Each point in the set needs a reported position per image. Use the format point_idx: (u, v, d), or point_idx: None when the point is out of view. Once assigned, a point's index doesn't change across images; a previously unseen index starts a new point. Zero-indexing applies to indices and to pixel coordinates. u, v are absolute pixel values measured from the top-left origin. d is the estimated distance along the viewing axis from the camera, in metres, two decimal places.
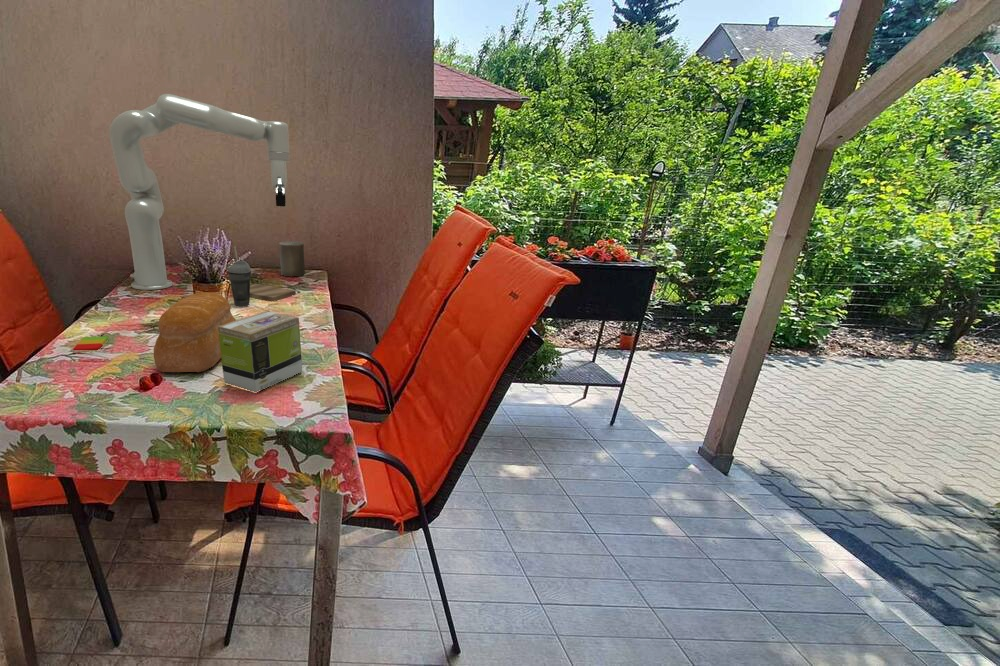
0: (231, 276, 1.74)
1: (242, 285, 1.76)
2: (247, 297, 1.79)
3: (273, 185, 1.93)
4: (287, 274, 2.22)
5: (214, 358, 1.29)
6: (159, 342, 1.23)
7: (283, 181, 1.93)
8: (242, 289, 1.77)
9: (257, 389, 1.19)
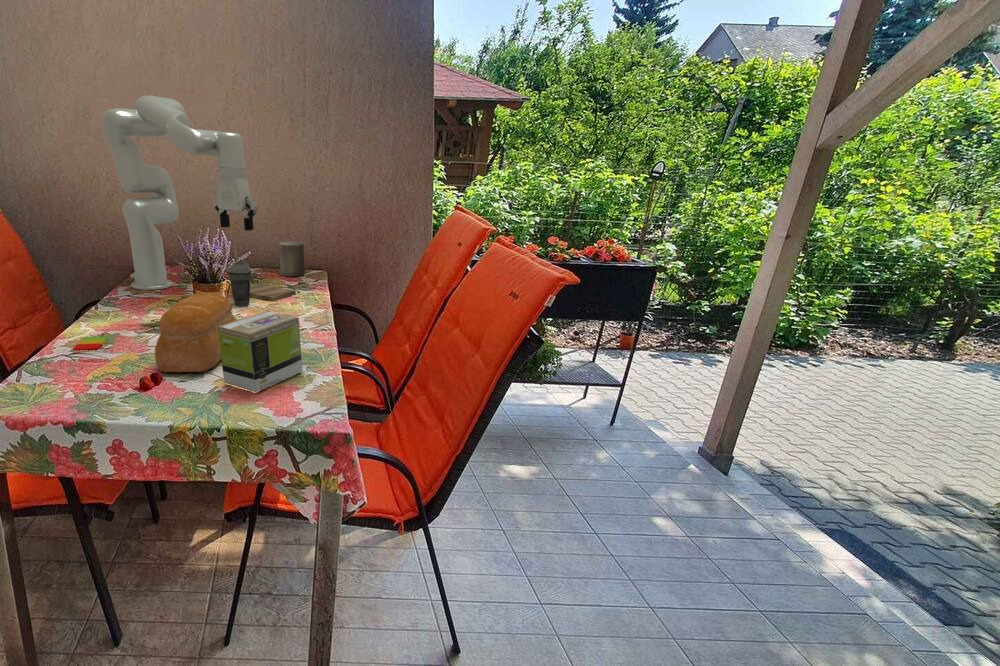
0: (231, 276, 1.74)
1: (242, 285, 1.76)
2: (247, 297, 1.79)
3: (242, 207, 1.67)
4: (287, 274, 2.22)
5: (215, 358, 1.29)
6: (160, 342, 1.24)
7: None
8: (242, 289, 1.77)
9: (257, 389, 1.19)
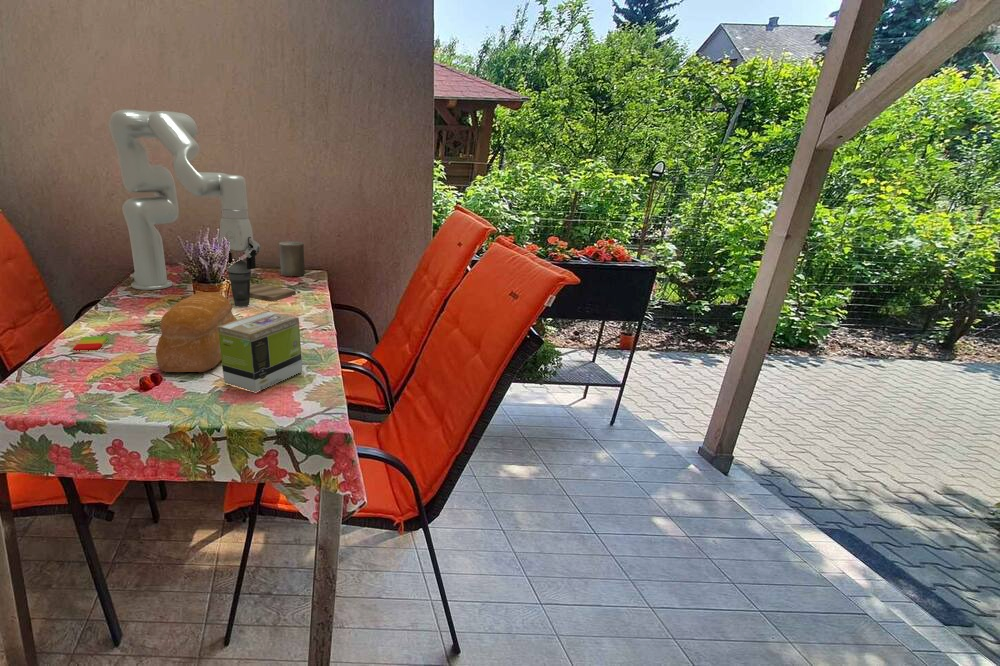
0: (231, 276, 1.74)
1: (242, 285, 1.76)
2: (247, 297, 1.79)
3: (244, 247, 1.71)
4: (287, 274, 2.22)
5: (216, 358, 1.29)
6: (162, 342, 1.24)
7: None
8: (242, 289, 1.77)
9: (257, 389, 1.19)
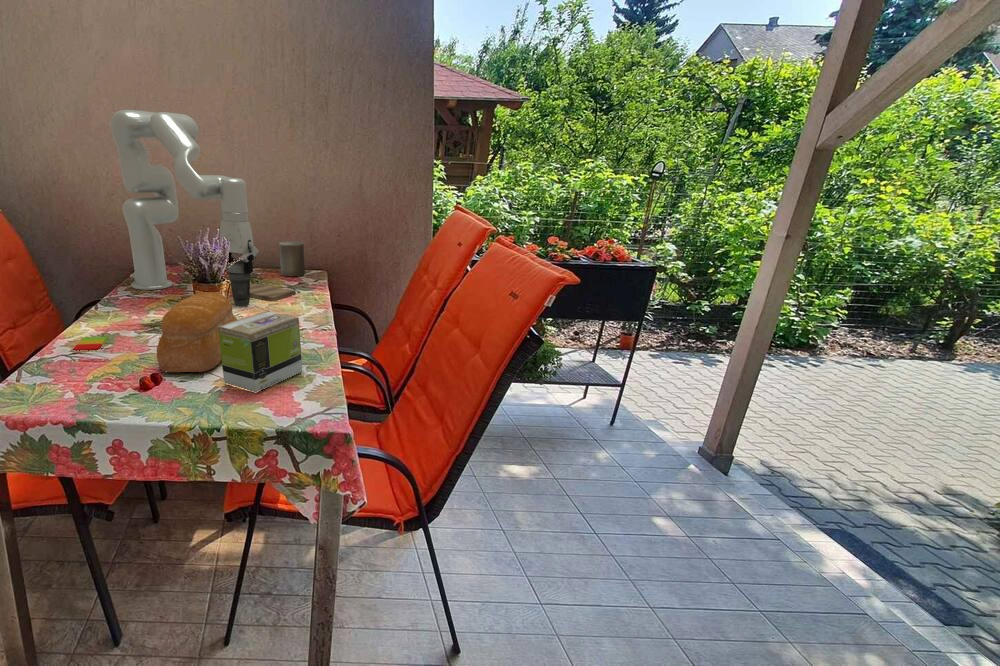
0: (231, 276, 1.74)
1: (242, 285, 1.76)
2: (247, 297, 1.79)
3: (244, 250, 1.71)
4: (287, 274, 2.22)
5: (217, 357, 1.29)
6: (162, 342, 1.24)
7: (252, 244, 1.74)
8: (242, 289, 1.77)
9: (257, 389, 1.19)
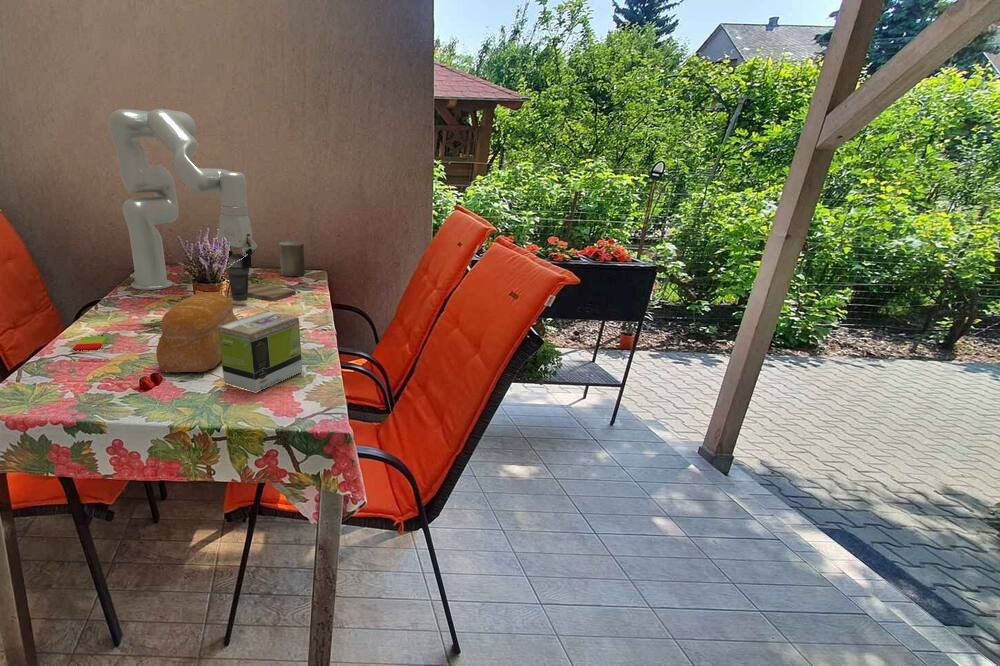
0: (229, 270, 1.74)
1: (241, 279, 1.76)
2: (245, 291, 1.79)
3: (243, 244, 1.71)
4: (287, 274, 2.22)
5: (217, 358, 1.29)
6: (162, 342, 1.24)
7: None
8: (240, 283, 1.76)
9: (257, 389, 1.19)
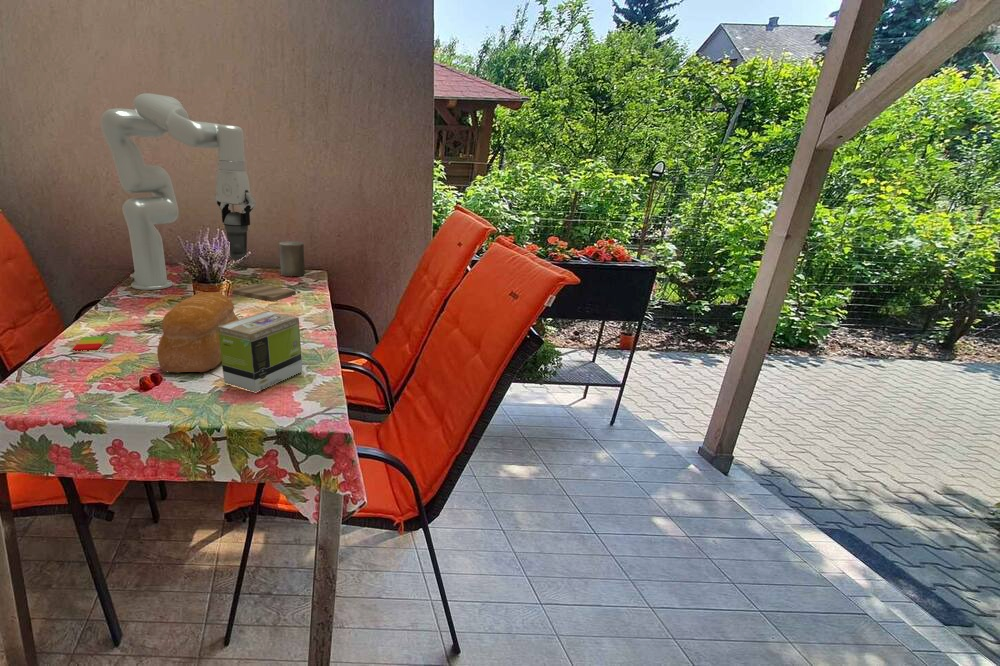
0: (227, 228, 1.70)
1: (239, 237, 1.72)
2: (244, 251, 1.74)
3: (241, 200, 1.67)
4: (287, 274, 2.22)
5: (218, 358, 1.29)
6: (163, 342, 1.24)
7: None
8: (239, 242, 1.72)
9: (257, 389, 1.19)
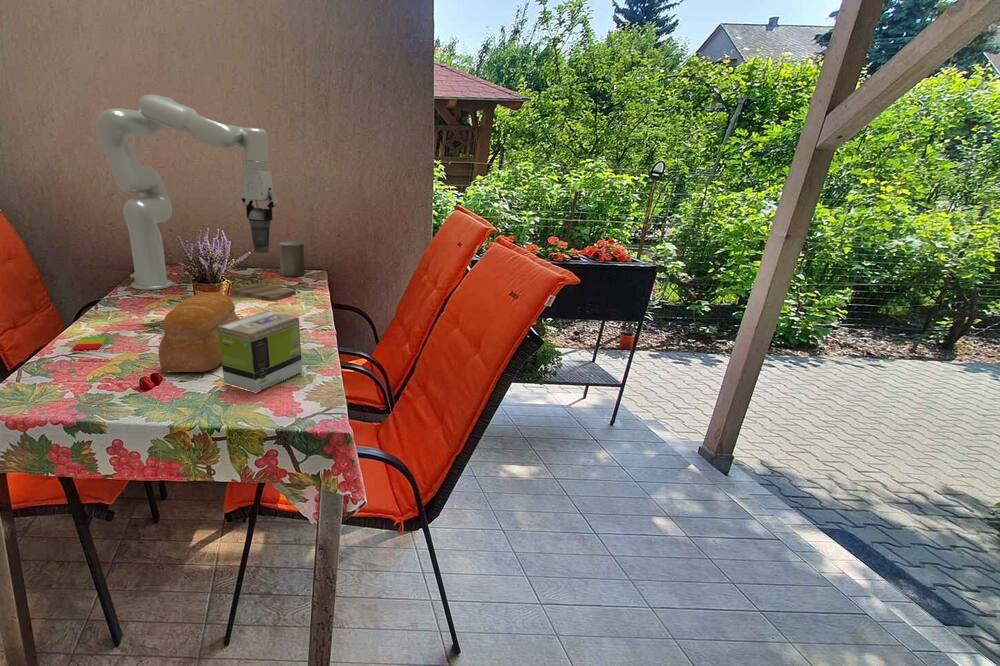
0: (252, 223, 1.84)
1: (262, 231, 1.86)
2: (266, 244, 1.89)
3: (265, 197, 1.81)
4: (287, 274, 2.22)
5: (219, 357, 1.29)
6: (164, 342, 1.24)
7: (272, 192, 1.83)
8: (262, 236, 1.86)
9: (257, 389, 1.19)
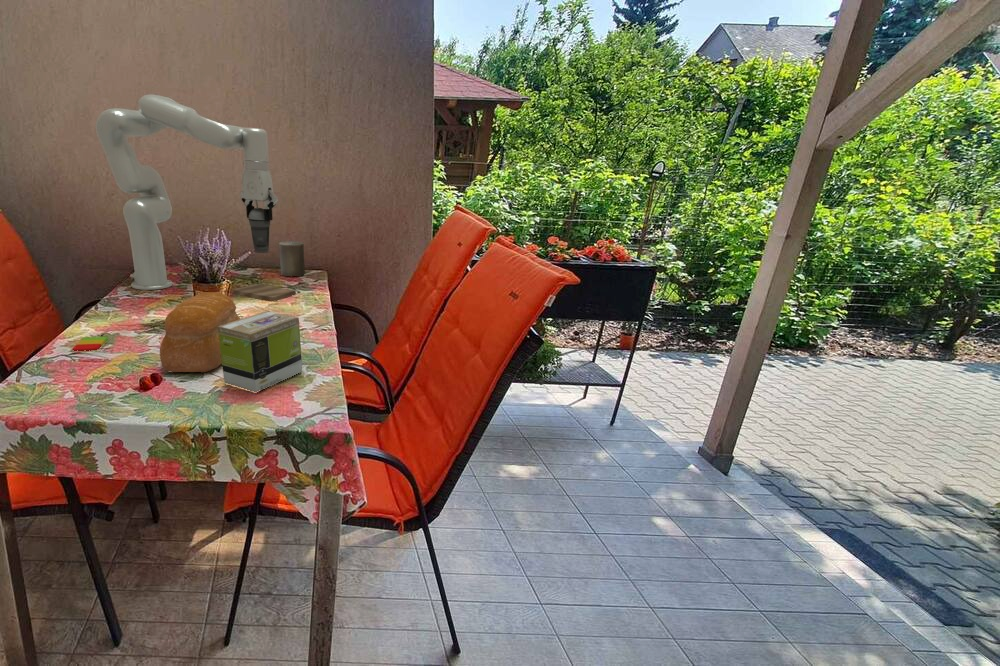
0: (252, 223, 1.84)
1: (262, 231, 1.86)
2: (266, 244, 1.89)
3: (265, 197, 1.81)
4: (287, 274, 2.22)
5: (220, 357, 1.29)
6: (165, 342, 1.24)
7: (272, 192, 1.83)
8: (262, 236, 1.86)
9: (257, 389, 1.19)
